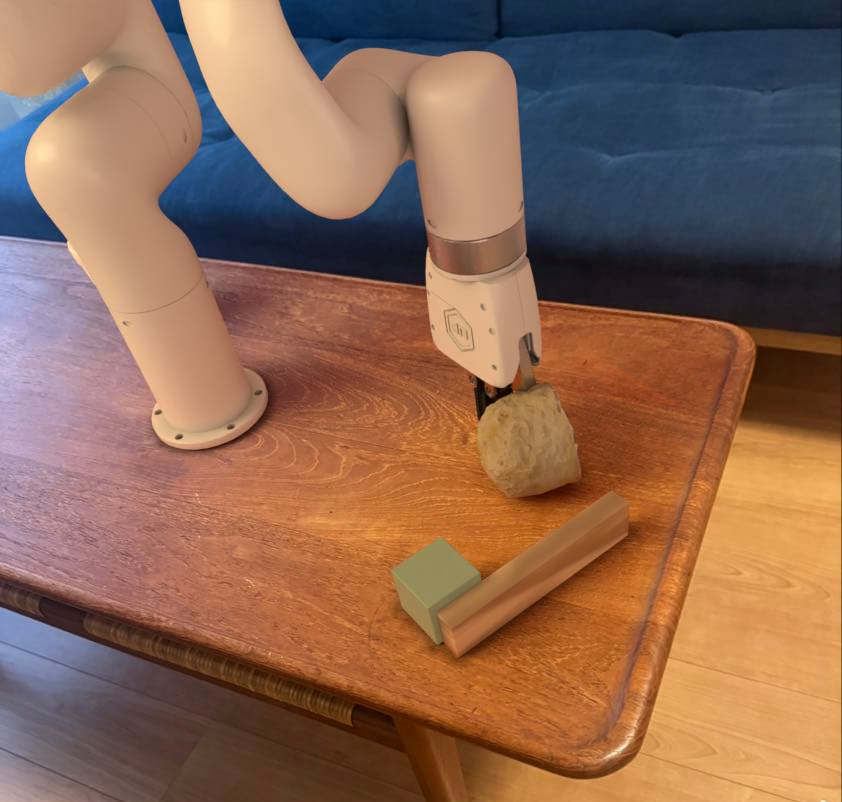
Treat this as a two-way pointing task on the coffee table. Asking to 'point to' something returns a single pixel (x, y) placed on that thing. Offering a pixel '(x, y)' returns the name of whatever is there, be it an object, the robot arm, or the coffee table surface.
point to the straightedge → (533, 573)
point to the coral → (528, 443)
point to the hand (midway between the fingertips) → (496, 417)
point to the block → (433, 583)
